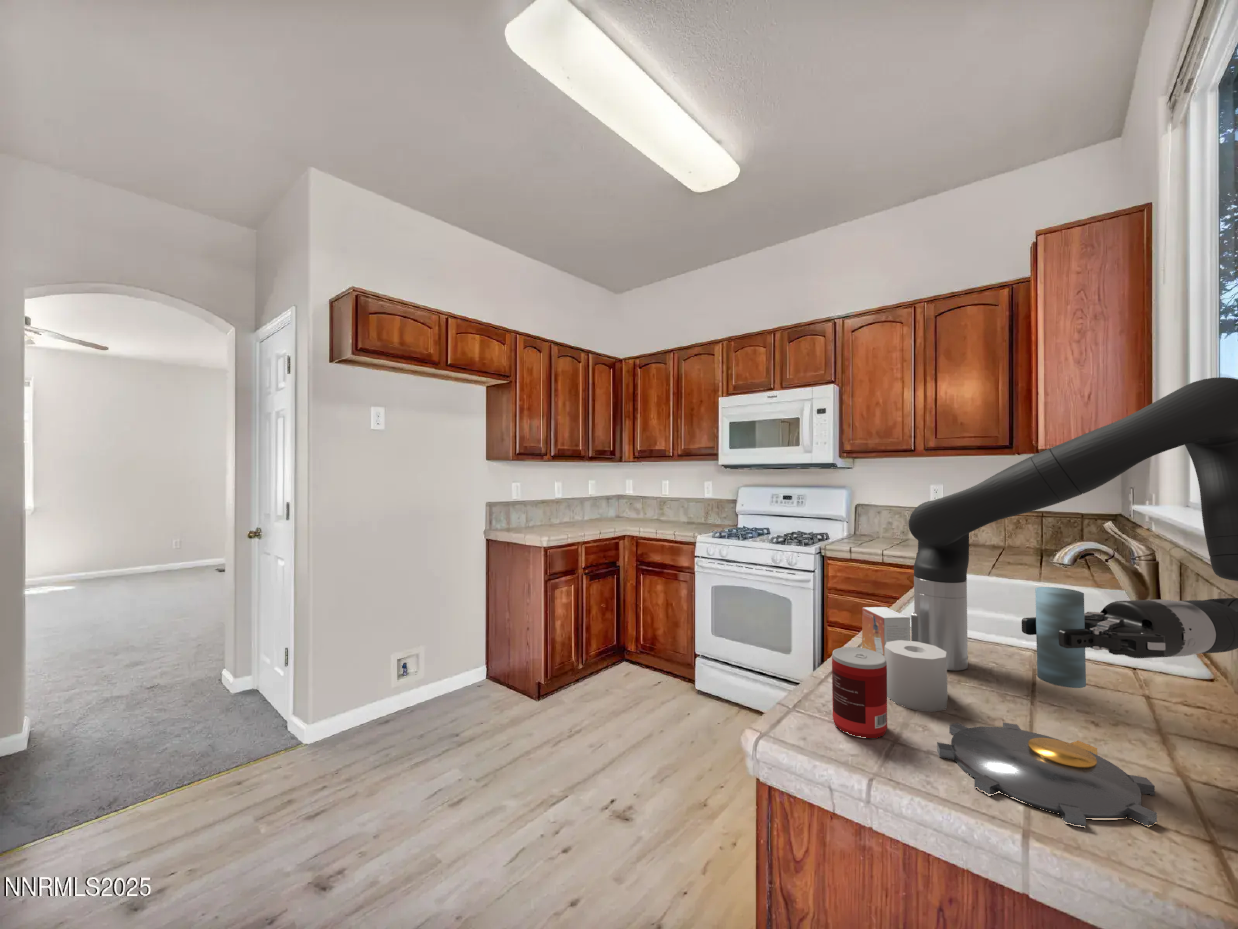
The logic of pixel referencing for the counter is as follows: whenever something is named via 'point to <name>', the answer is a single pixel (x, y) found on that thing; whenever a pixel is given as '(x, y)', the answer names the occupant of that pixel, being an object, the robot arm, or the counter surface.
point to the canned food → (859, 691)
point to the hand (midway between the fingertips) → (1042, 632)
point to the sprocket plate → (1048, 773)
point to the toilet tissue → (916, 675)
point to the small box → (883, 628)
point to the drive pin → (1052, 616)
